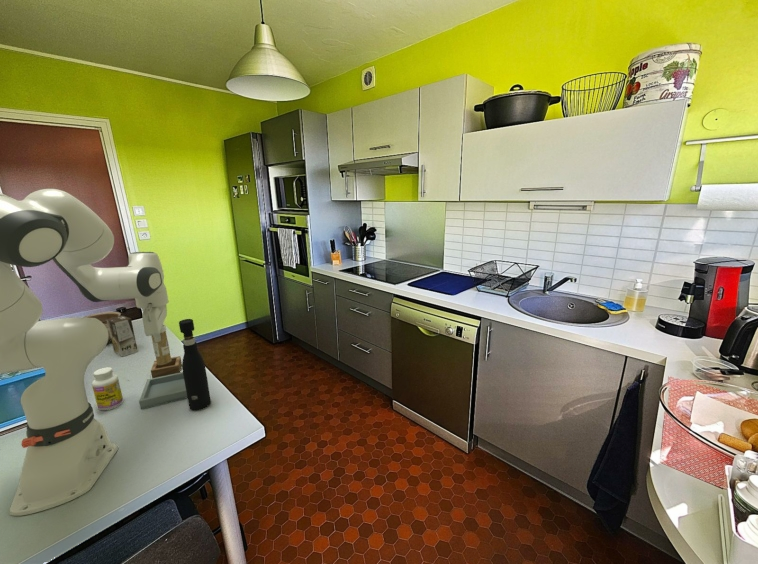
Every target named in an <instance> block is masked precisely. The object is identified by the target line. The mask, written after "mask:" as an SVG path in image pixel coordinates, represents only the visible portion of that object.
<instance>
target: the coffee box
mask: <svg viewBox="0 0 758 564" xmlns="http://www.w3.org/2000/svg"><path fill="white" fill-rule="evenodd" d="M107 324H108V328H109V333H110V337H111V345H112V349H113V352H114V353H115V354H117V355H118V356H120V357H127V356H129V355H132V354H135V353H138V352H139V350H138V346H137V340H136V336H135V332H134V327H133V322H132V318H131V317H128V316H126V315H123V314H122V315H120V316H118V317H114V318H111V319H107Z"/></svg>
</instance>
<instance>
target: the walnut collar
mask: <svg viewBox="0 0 758 564" xmlns="http://www.w3.org/2000/svg"><path fill="white" fill-rule="evenodd" d="M171 359H172V360H171V362H169V363H167V364H164V365H158V364H157V363H156V362H157V361H156V360H154V362H153V364H152V367H151V370H150V375H151V379H152V378H157V377H161V376H166V375H171V374H176V373H181V372H180V371H182V362H183V361H182V358H181V355H178V356H173V357H171Z"/></svg>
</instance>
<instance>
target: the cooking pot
mask: <svg viewBox="0 0 758 564" xmlns="http://www.w3.org/2000/svg"><path fill="white" fill-rule="evenodd" d="M121 314H122V313H121V312H119V311H105V312H99V313H93V314H89V315H85V316H84V317H86V318H96V319H98V320H100V321H101V322H102V323H103V324H104V325H105V327H106V328H107V331H108V342H107V343H109V342H112V340H111V337H110V333H109V328H108V324H107V319H111V318H114V317H118V316H122V315H121Z"/></svg>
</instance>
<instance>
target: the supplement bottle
mask: <svg viewBox="0 0 758 564" xmlns="http://www.w3.org/2000/svg"><path fill="white" fill-rule="evenodd" d="M93 377H94V379H93V380H92V382H91V386H92V390H93V394H94V398H95V402H96V407H97V409H98V410H100V411H109V410H113V409H115V408H117V407H119V406H120V405H122V404H123V401H124V399H123V393H122V389H121V384H120V381H119V376H118V375H117V374H116V373H114V370H113V368H112V367H110V366H109V367H103V368H99V369H97V370H95V371H94V372H93Z"/></svg>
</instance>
